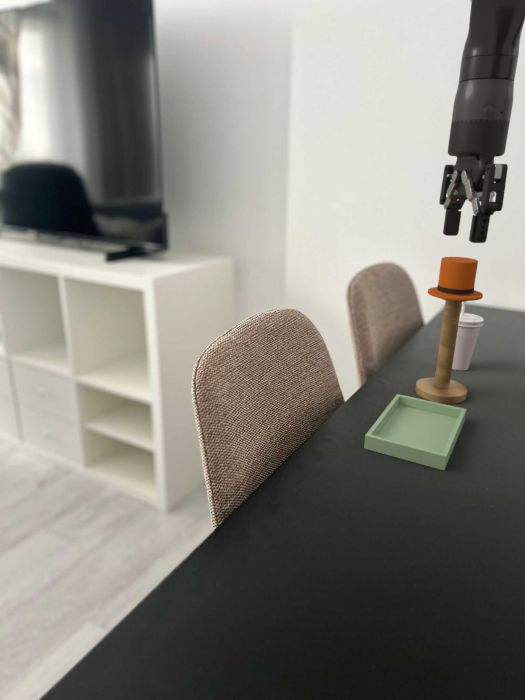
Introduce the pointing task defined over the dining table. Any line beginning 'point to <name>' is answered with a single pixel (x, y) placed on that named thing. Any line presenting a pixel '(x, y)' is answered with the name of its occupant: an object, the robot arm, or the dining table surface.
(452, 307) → the hat stand
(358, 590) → the dining table surface
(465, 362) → the smoothie
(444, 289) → the hat
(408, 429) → the tray
